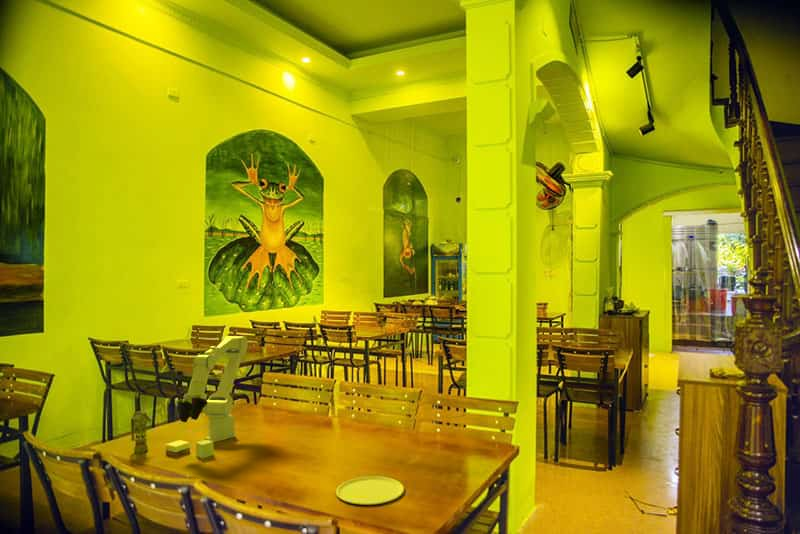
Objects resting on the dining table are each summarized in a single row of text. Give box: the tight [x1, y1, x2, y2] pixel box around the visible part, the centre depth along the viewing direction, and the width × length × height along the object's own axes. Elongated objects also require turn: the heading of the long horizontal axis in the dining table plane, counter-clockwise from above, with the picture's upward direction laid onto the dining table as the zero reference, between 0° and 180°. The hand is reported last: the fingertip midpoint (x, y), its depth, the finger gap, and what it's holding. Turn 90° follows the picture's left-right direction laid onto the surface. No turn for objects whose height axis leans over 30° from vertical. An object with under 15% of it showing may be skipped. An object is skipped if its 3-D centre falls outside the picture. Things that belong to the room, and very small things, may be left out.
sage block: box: [195, 439, 215, 459], centre depth 202 cm, size 4×4×5 cm
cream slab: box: [165, 439, 191, 452], centre depth 206 cm, size 6×6×2 cm
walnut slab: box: [165, 447, 191, 457], centre depth 206 cm, size 6×6×2 cm
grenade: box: [130, 410, 152, 454], centre depth 209 cm, size 7×7×15 cm
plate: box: [335, 475, 405, 506], centre depth 166 cm, size 21×21×1 cm
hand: (188, 420), depth 202 cm, fingers open, 7 cm apart
